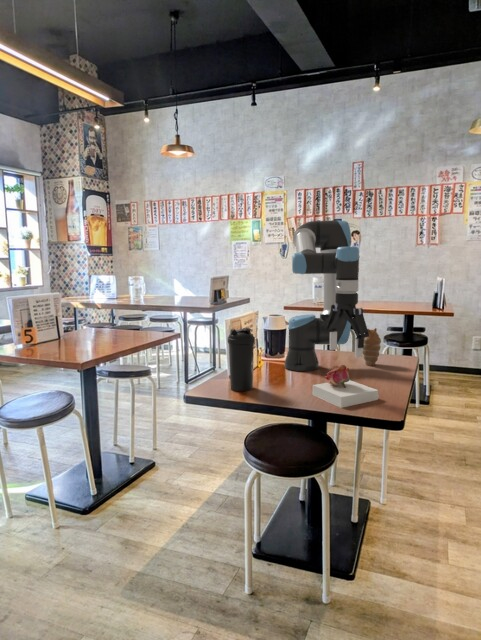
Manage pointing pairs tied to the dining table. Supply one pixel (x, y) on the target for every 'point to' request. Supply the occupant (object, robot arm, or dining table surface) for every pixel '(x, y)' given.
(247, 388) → the water bottle
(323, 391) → the block
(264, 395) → the dining table surface
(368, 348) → the cat ice cream
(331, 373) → the flower
